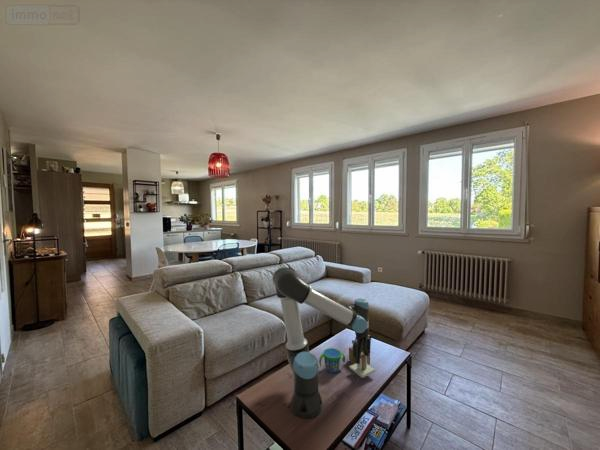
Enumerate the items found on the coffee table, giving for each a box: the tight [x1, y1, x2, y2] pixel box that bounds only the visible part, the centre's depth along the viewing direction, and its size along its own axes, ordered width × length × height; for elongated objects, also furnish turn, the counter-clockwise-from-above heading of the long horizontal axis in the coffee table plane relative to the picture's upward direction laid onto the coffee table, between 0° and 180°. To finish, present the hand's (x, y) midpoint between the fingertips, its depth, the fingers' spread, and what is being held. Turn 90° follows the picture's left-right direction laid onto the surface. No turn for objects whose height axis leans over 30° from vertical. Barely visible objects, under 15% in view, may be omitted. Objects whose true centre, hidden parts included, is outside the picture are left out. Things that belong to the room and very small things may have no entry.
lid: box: [349, 354, 376, 379], centre depth 142 cm, size 10×10×8 cm
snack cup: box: [318, 347, 346, 374], centre depth 148 cm, size 16×10×10 cm
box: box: [348, 345, 371, 365], centre depth 155 cm, size 9×9×8 cm
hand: (362, 367), depth 143 cm, fingers closed on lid, 3 cm apart
